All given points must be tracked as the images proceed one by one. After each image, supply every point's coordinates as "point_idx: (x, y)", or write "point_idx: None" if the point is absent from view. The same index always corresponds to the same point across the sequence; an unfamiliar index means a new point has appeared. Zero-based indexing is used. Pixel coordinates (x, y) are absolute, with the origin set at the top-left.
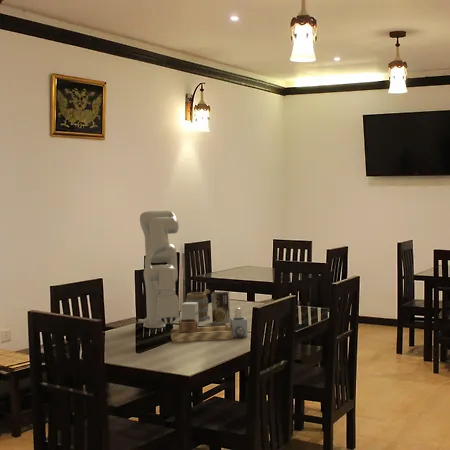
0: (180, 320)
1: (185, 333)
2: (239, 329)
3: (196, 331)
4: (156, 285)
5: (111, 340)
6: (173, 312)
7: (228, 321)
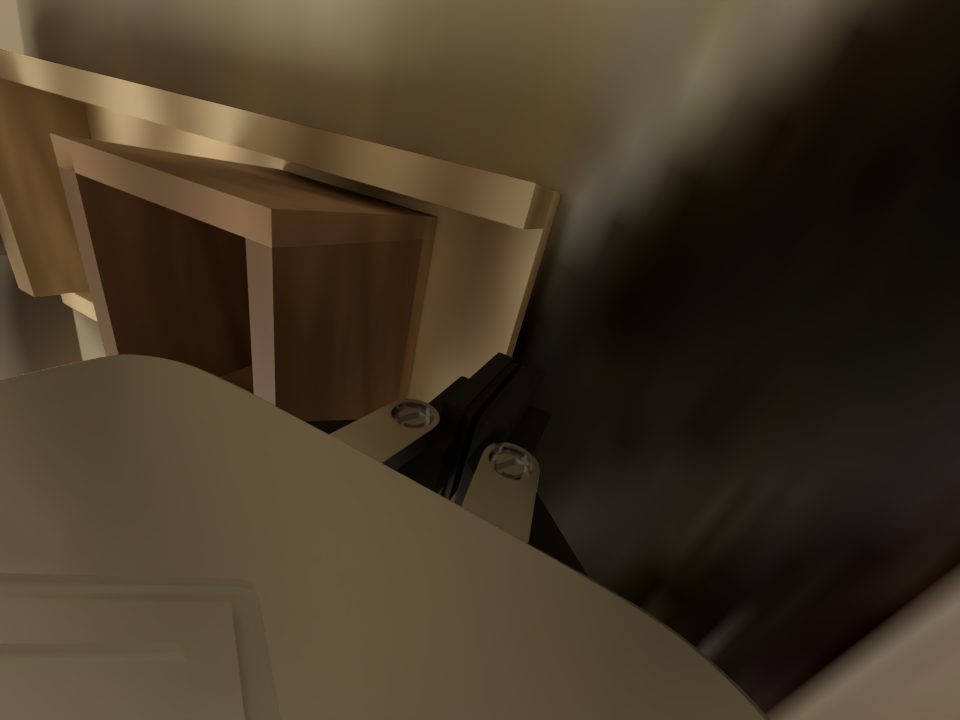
0: None
1: (351, 144)
2: None
3: (228, 161)
4: None
5: None
6: (45, 479)
7: None
